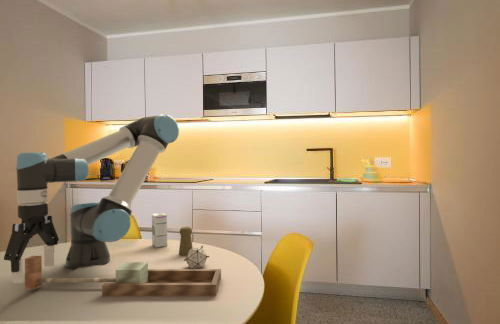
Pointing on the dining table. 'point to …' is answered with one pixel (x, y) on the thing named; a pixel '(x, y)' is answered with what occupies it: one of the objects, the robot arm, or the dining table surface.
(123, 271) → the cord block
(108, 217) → the robot arm
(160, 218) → the syrup box
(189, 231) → the cork
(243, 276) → the dining table surface
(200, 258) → the game die
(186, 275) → the tray
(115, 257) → the dining table surface
